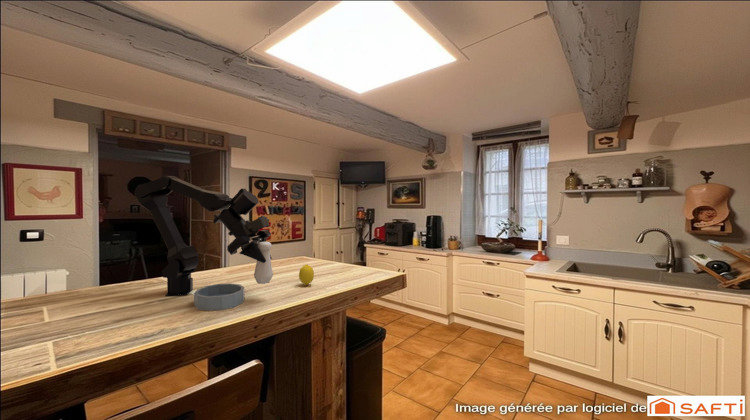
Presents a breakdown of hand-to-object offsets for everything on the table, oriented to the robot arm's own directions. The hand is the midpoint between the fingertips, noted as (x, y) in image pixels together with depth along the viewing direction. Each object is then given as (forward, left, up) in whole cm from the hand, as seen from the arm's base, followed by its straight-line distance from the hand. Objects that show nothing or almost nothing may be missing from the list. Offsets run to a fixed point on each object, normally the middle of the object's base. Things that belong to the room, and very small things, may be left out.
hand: (267, 260), depth 101 cm
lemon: (+13, +14, -13) cm, 23 cm away
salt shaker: (-1, +1, -7) cm, 7 cm away
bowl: (-14, 0, -13) cm, 19 cm away
